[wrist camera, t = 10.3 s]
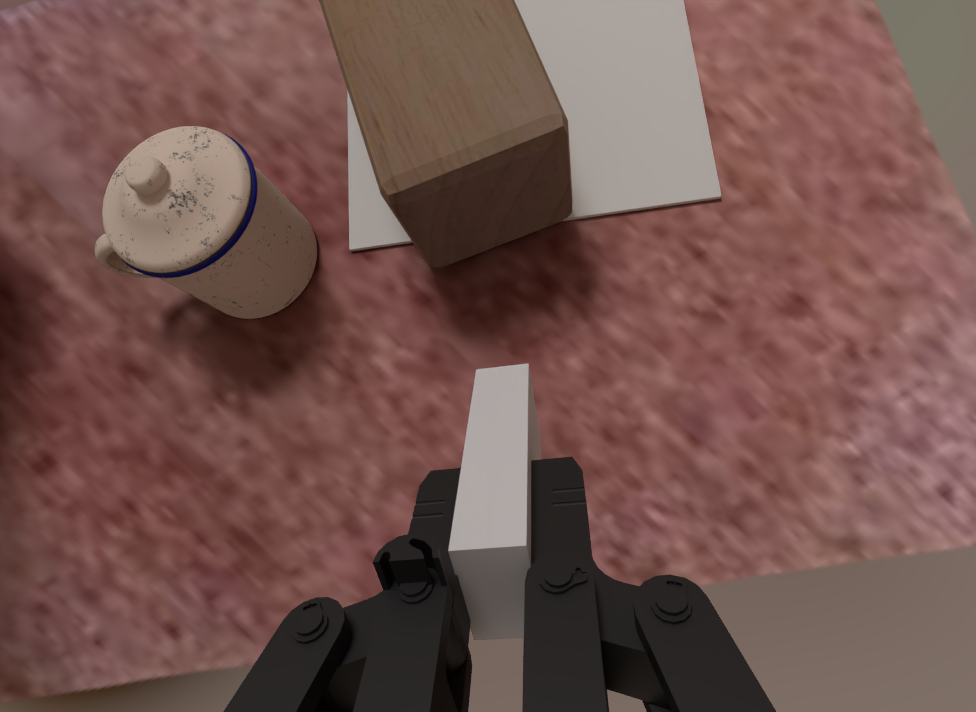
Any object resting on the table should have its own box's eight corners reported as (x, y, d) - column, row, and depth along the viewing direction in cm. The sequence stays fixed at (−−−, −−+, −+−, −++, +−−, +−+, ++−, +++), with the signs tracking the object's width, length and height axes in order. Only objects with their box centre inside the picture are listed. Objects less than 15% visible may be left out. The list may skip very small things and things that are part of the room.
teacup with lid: (311, 185, 42) (211, 69, 31) (333, 302, 39) (231, 221, 28) (158, 235, 43) (8, 140, 32) (168, 351, 41) (10, 292, 29)
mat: (350, 251, 40) (349, 249, 40) (348, 10, 45) (346, 7, 45) (720, 198, 37) (721, 196, 36) (671, -55, 42) (671, -59, 42)
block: (574, 123, 28) (449, -155, 34) (379, 201, 29) (289, -85, 35) (578, 221, 38) (480, -9, 43) (432, 277, 38) (354, 44, 44)
